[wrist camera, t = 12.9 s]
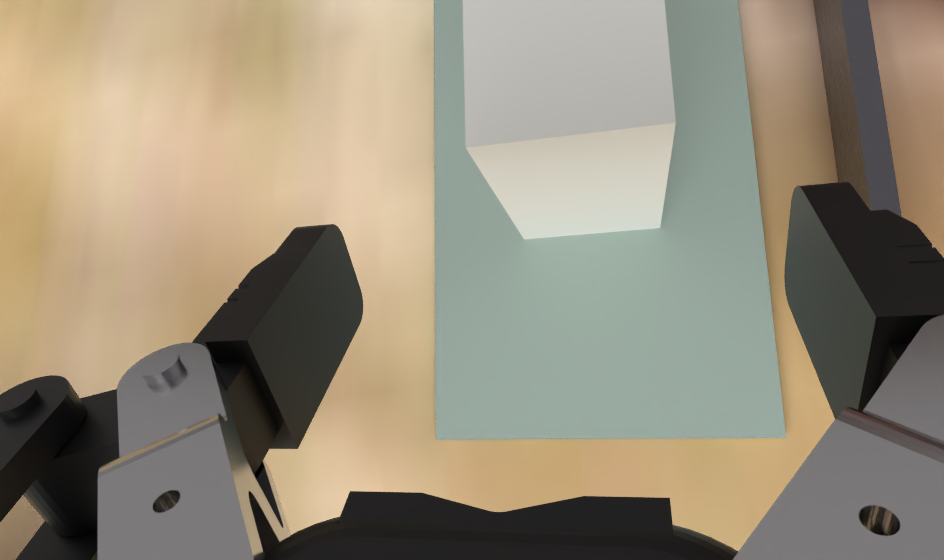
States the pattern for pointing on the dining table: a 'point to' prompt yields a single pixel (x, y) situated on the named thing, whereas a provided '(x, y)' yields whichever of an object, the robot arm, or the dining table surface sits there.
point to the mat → (611, 277)
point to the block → (570, 111)
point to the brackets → (856, 102)
